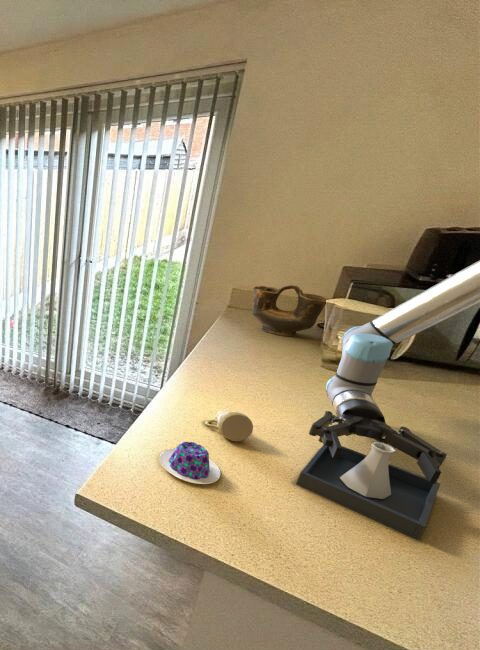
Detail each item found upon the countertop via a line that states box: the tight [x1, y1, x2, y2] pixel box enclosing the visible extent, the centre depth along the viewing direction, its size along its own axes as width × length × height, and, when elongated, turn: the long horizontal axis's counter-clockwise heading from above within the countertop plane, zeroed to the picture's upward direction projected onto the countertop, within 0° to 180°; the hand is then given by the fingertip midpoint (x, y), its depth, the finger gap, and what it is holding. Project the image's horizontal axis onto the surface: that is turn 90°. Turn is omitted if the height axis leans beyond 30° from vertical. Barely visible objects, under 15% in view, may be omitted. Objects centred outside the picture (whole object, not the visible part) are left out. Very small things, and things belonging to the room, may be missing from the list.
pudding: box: [159, 441, 221, 485], centre depth 86 cm, size 12×12×5 cm
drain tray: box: [295, 444, 441, 541], centre depth 79 cm, size 18×18×3 cm
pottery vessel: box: [251, 284, 329, 338], centre depth 158 cm, size 25×11×20 cm, turn 38°
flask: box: [340, 441, 397, 499], centre depth 78 cm, size 7×7×10 cm
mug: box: [204, 410, 254, 442], centre depth 98 cm, size 8×10×10 cm
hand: (384, 465), depth 75 cm, fingers open, 13 cm apart
